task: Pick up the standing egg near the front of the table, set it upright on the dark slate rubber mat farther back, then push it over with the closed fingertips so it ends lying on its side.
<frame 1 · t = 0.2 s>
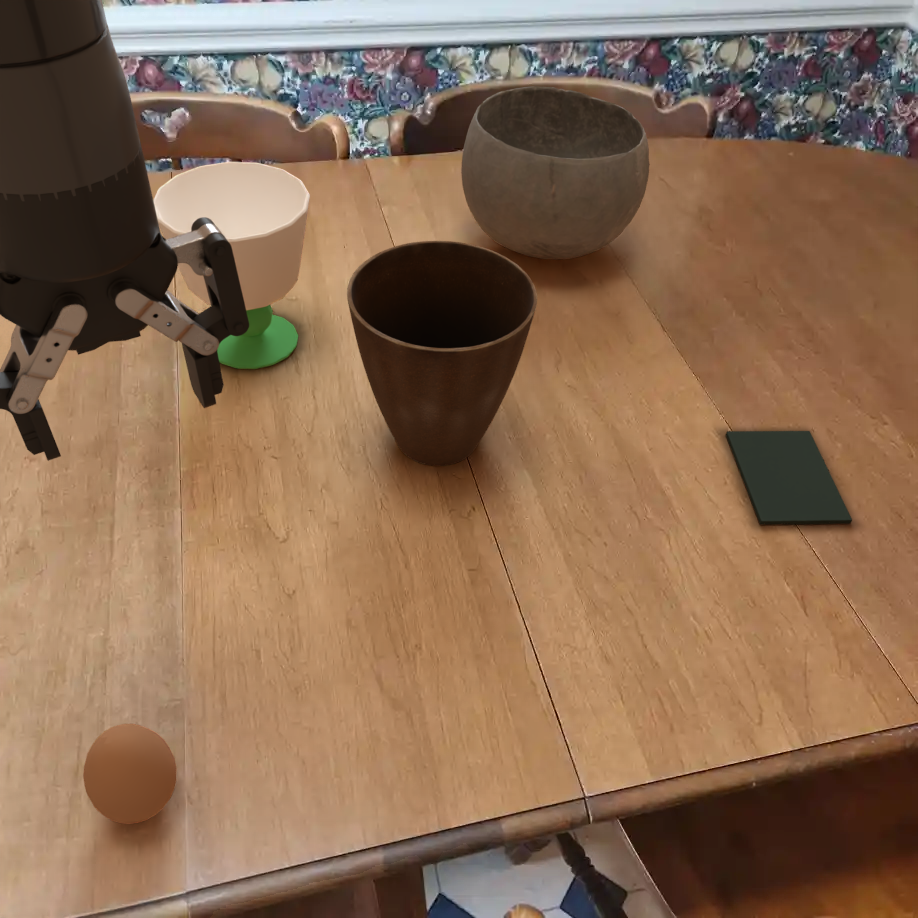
hand: (130, 422, 49), 22 cm above the table, tool pointing down, fingers open, 8 cm apart
cup: (253, 342, 89), on the table
bowl: (543, 243, 105), on the table
mat: (785, 477, 79), on the table
egg: (144, 801, 57), on the table
flower pot: (436, 438, 81), on the table
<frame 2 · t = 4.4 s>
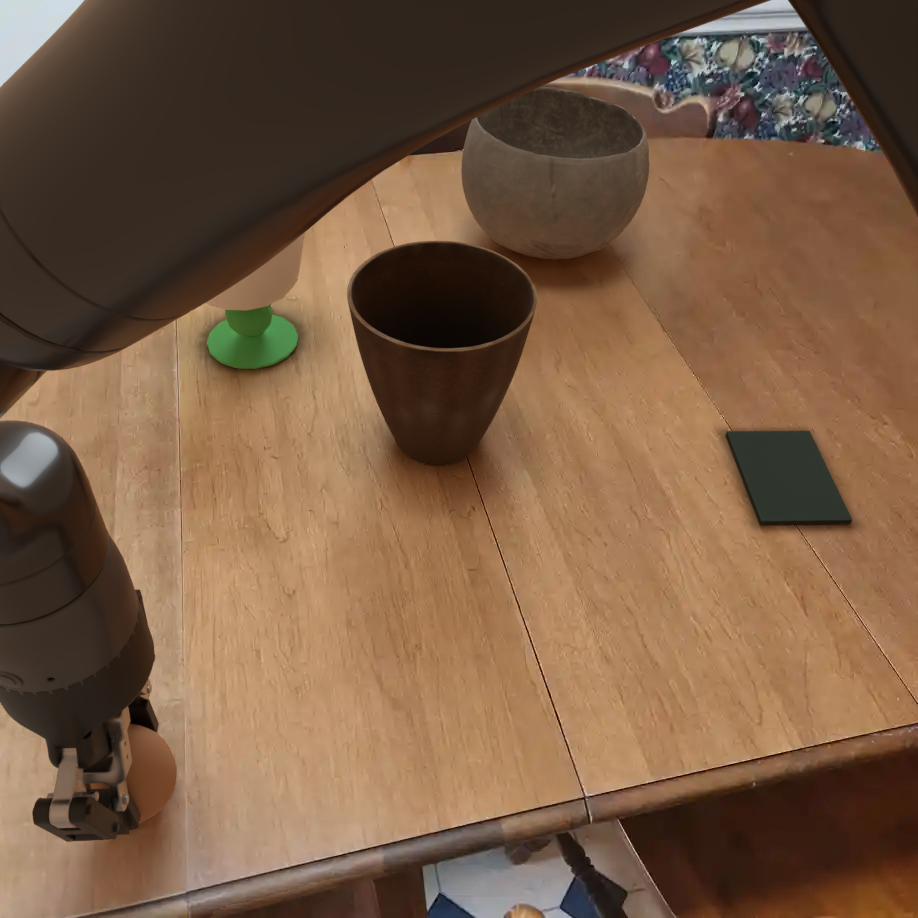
hand: (132, 775, 54), 3 cm above the table, tool pointing down, fingers closed on egg, 5 cm apart
egg: (144, 801, 57), on the table, touching gripper
everything else where it was.
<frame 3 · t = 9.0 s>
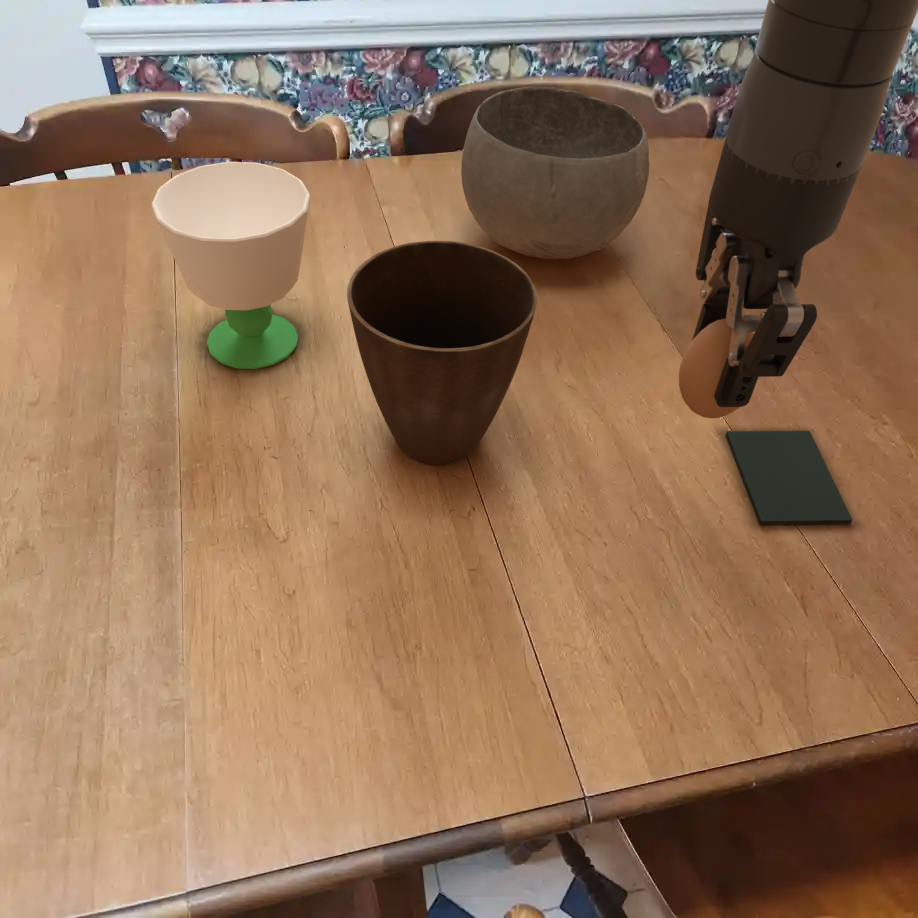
hand: (718, 374, 61), 18 cm above the table, tool pointing down, fingers closed on egg, 5 cm apart
egg: (704, 413, 64), point 14 cm above the table, touching gripper
everything else where it was.
when the fingers open (4 cm above the table, at t = 13.6 s): egg stays where it is, resting on mat.
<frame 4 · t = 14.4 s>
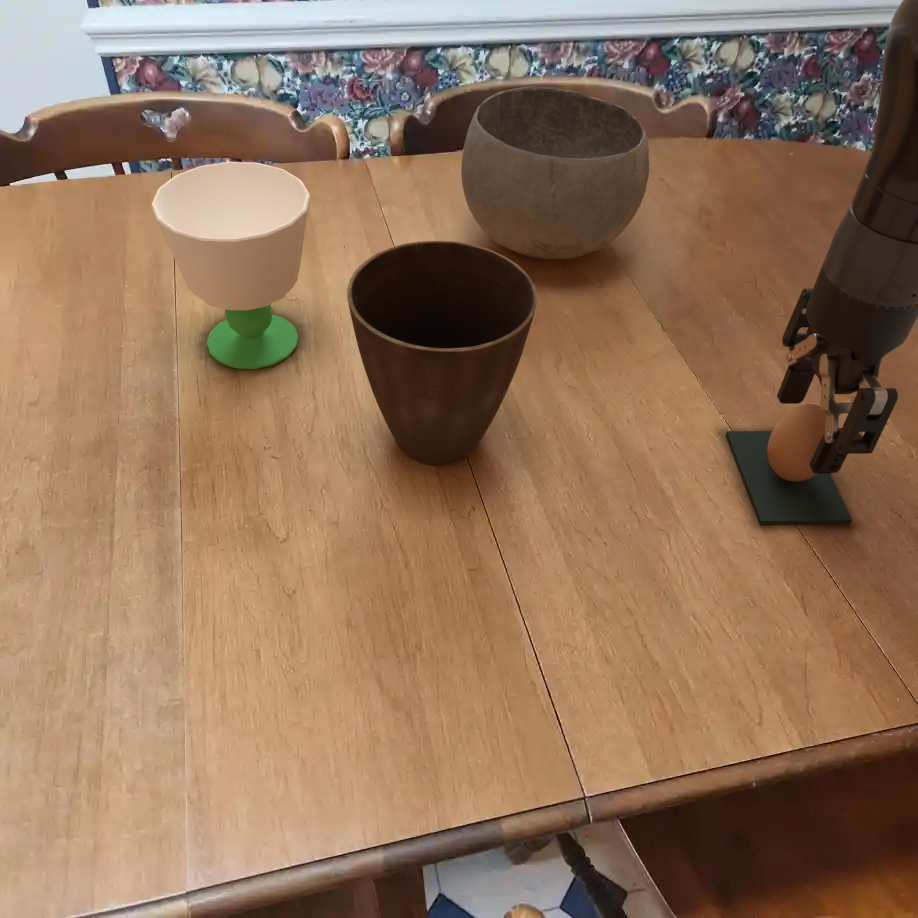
hand: (804, 434, 75), 5 cm above the table, tool pointing down, fingers open, 8 cm apart
egg: (786, 476, 79), resting on mat
everything else where it was.
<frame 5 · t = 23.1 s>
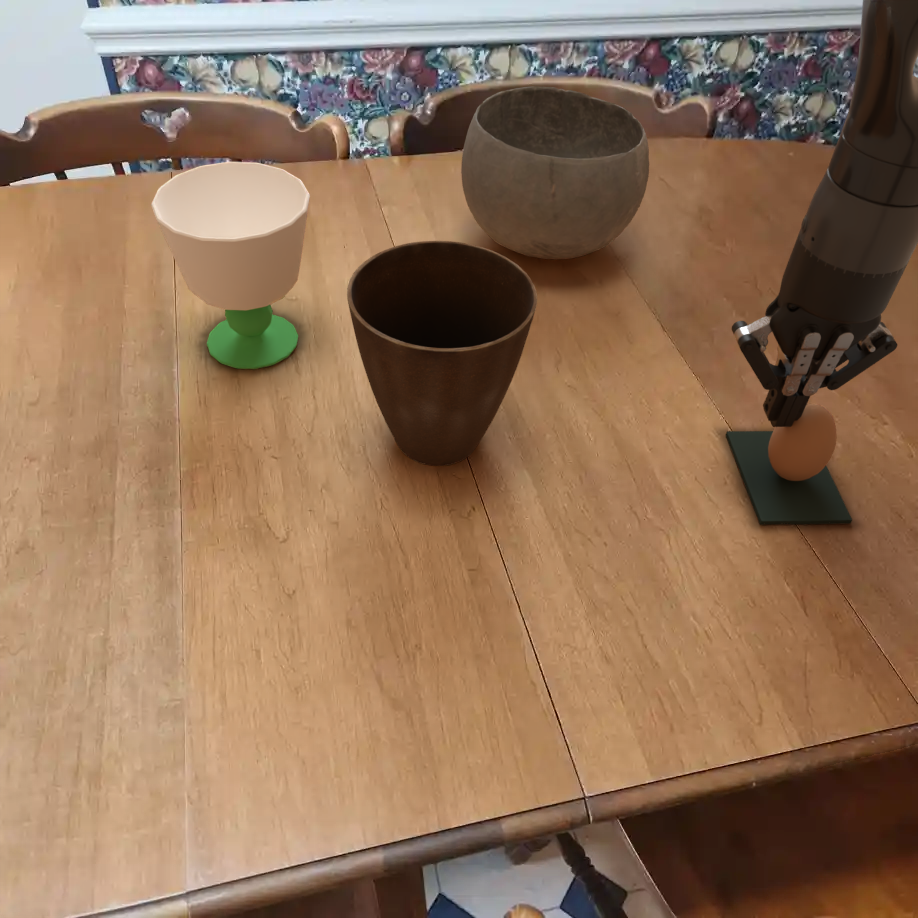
hand: (778, 420, 74), 7 cm above the table, tool pointing down, fingers closed
egg: (786, 476, 79), resting on mat, touching gripper
everything else where it was.
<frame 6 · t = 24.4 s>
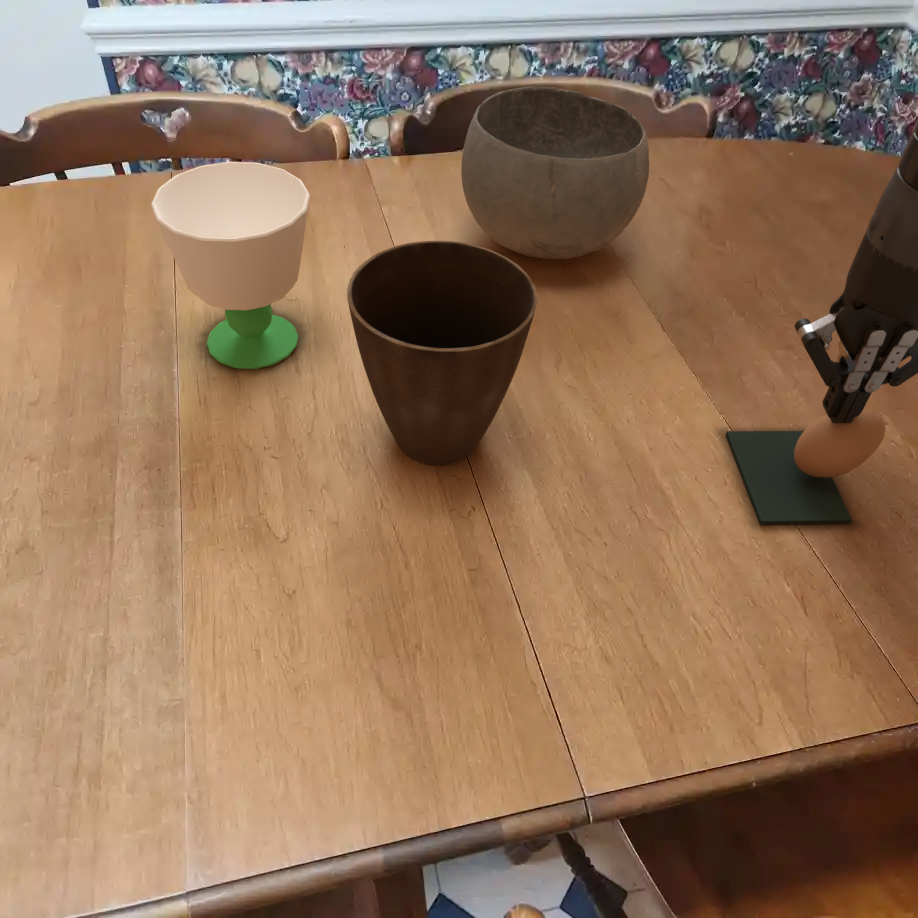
hand: (837, 416, 75), 7 cm above the table, tool pointing down, fingers closed
egg: (794, 466, 78), point 2 cm above the table, touching gripper, mat
everything else where it was.
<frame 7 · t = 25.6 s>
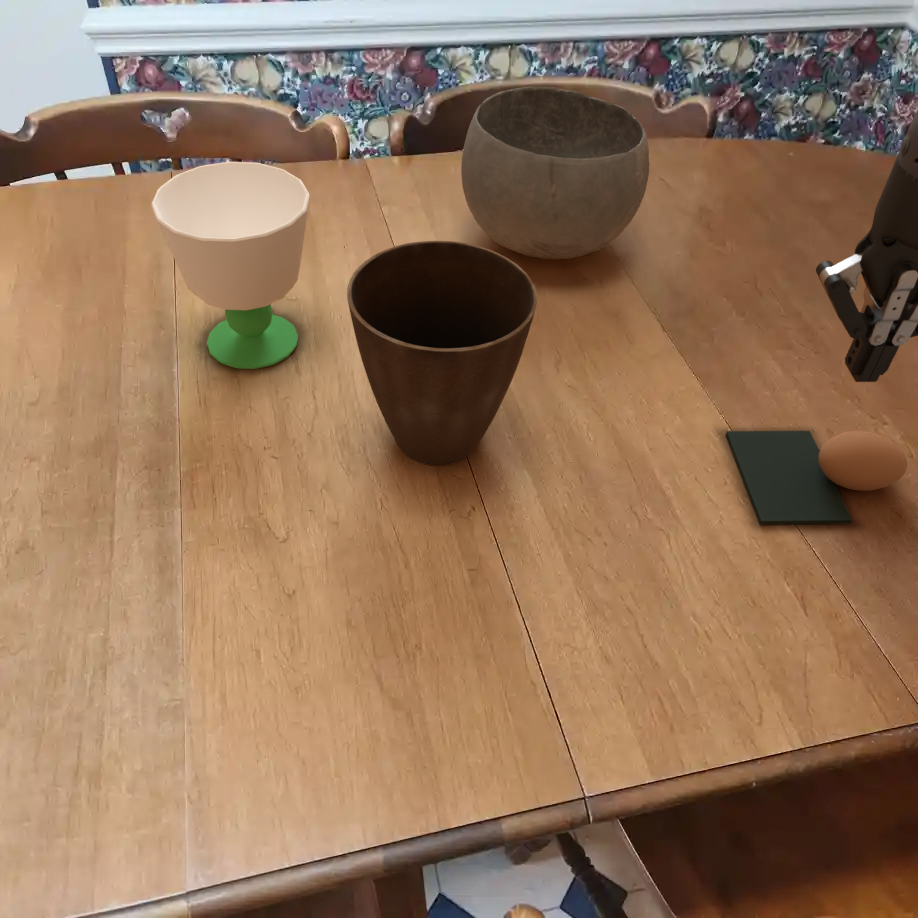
hand: (861, 375, 68), 14 cm above the table, tool pointing down, fingers closed
egg: (819, 455, 77), point 3 cm above the table, touching mat
everything else where it was.
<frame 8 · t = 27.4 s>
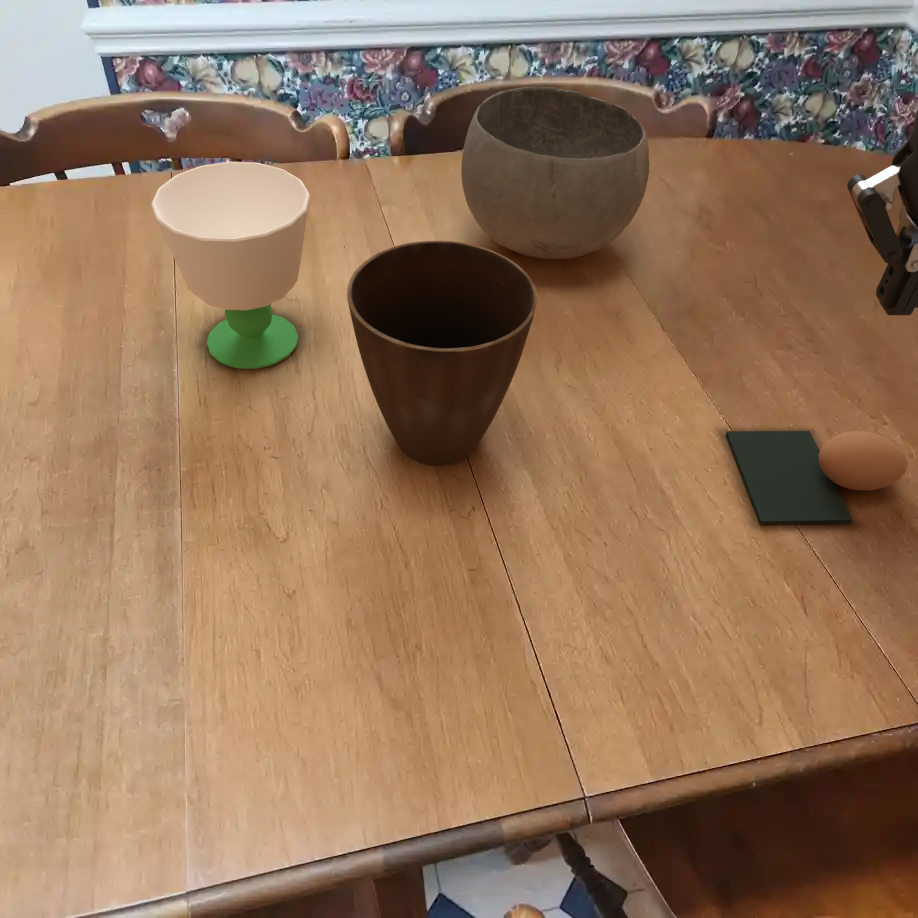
hand: (893, 308, 62), 21 cm above the table, tool pointing down, fingers closed
nothing on the table moved.
at the end: egg tilted 99°; egg inside the target area on the mat (0.6 cm from its centre), point 3.2 cm above the mat's base; the gripper is holding nothing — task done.
